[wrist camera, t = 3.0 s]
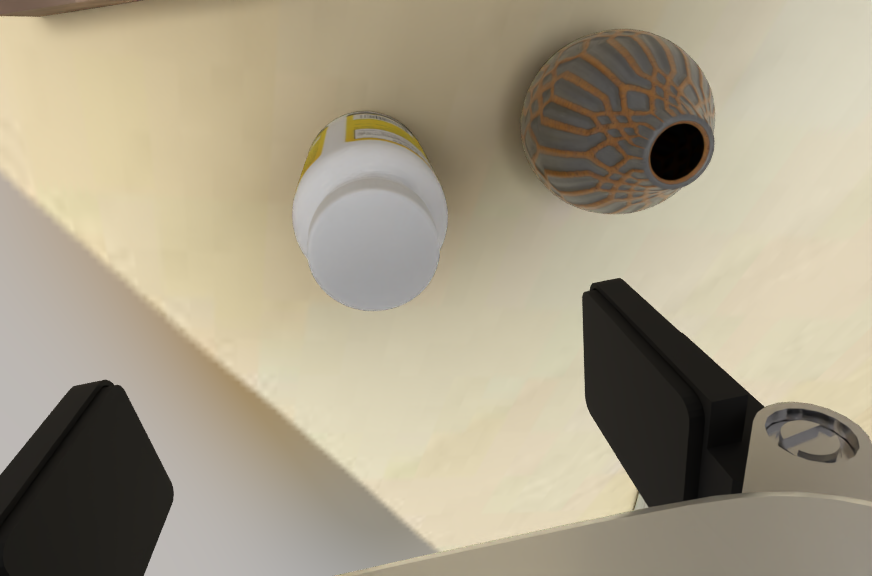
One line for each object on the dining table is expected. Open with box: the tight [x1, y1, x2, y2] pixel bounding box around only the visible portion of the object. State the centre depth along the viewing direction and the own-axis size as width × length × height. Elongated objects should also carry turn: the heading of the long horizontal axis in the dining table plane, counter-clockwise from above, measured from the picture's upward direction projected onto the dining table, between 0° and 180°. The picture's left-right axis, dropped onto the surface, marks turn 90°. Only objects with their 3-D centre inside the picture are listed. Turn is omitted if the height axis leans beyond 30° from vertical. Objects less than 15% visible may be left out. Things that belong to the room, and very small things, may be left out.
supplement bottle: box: [292, 111, 448, 311], centre depth 20 cm, size 5×5×10 cm
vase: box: [521, 29, 715, 214], centre depth 21 cm, size 7×7×9 cm
